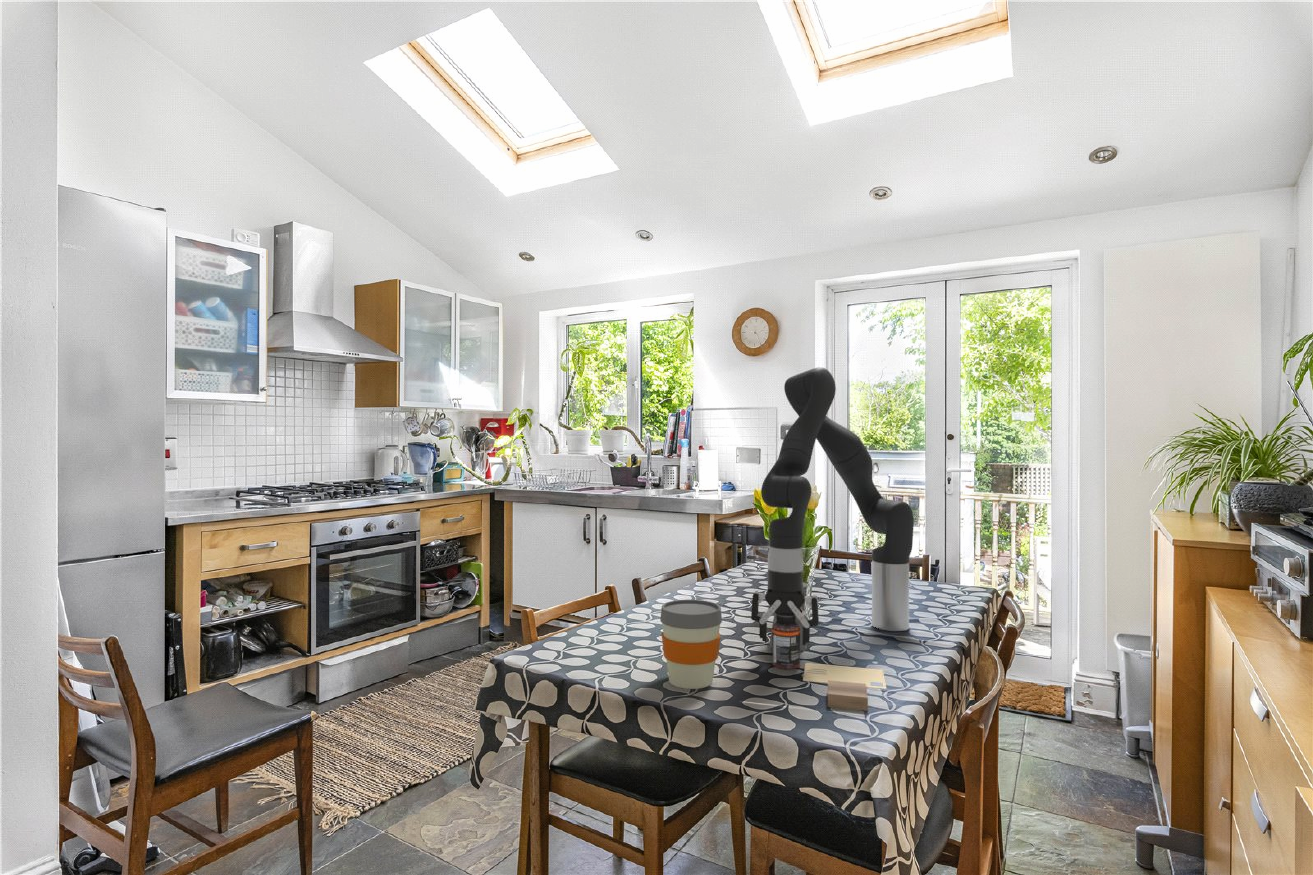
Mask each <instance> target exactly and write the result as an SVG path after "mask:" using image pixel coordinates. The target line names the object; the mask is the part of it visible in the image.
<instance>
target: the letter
mask: <svg viewBox="0 0 1313 875" xmlns="http://www.w3.org/2000/svg"><path fill="white" fill-rule="evenodd" d="M828 680H830V681H841V682H852V683H863V684H866V688H870V689H871V688H872V689H873V688H874V689H882V690H887V684H886V680H885V674H884V670H883V669H877V668H867V667H856V666H847V665H846V666H844V665H835V664H833V665H832V664H825V663H823V664H822V663H813V662H812V663H811V662H805V665H804V671H803V678H802V681H803V682H810V683H811V682H813V683H822V684H823V683H825V684H828Z"/></svg>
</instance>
